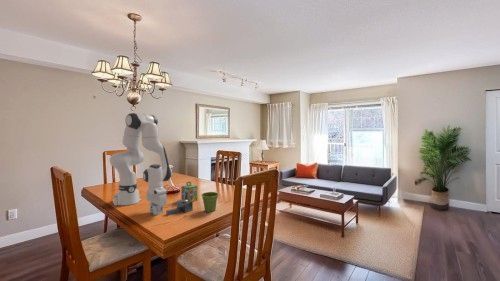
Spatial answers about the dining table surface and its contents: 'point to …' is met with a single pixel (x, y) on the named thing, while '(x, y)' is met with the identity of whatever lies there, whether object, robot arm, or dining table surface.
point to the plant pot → (210, 201)
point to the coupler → (181, 207)
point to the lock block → (155, 209)
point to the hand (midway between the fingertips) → (156, 209)
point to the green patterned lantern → (189, 192)
